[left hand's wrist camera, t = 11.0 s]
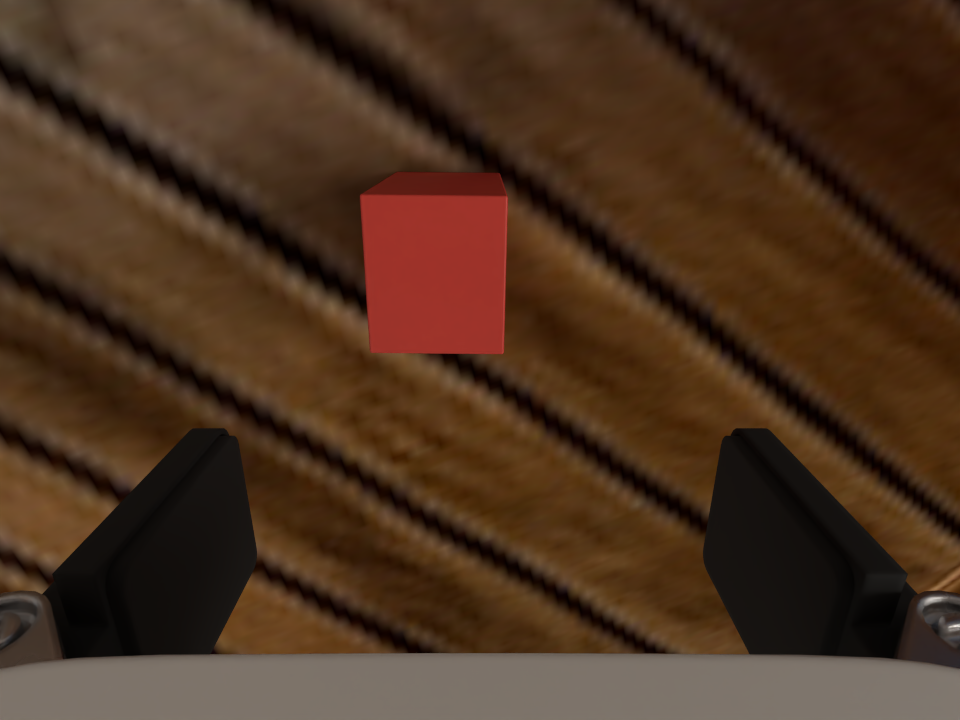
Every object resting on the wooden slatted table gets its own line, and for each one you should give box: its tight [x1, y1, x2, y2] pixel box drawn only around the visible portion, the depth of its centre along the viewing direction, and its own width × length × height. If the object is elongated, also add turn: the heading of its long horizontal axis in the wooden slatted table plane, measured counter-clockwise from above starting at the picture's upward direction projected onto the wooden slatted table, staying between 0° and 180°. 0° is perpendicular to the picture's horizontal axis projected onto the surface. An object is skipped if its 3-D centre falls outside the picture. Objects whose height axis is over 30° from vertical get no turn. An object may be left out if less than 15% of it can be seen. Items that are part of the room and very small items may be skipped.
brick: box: [360, 172, 508, 354], centre depth 23 cm, size 5×5×8 cm
